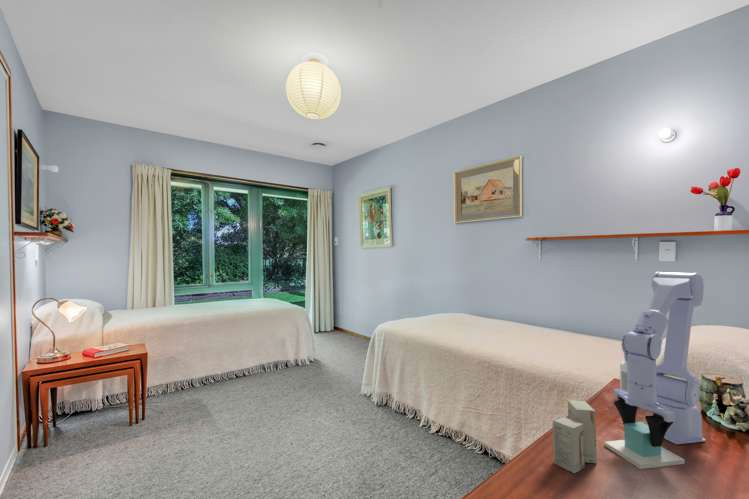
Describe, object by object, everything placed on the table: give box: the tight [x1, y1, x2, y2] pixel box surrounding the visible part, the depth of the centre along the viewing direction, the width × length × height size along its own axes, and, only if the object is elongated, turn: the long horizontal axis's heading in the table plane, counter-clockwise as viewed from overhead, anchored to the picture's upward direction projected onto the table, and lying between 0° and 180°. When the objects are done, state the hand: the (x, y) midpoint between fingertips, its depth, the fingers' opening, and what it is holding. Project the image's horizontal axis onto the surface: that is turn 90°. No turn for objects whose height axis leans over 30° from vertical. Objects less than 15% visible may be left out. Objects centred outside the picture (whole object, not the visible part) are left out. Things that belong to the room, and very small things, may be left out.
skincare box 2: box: [567, 399, 598, 464], centre depth 85 cm, size 6×4×12 cm
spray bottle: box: [619, 360, 628, 392], centre depth 120 cm, size 7×7×18 cm
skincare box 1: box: [552, 416, 586, 474], centre depth 81 cm, size 5×4×10 cm
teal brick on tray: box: [623, 421, 662, 457], centre depth 86 cm, size 5×5×6 cm
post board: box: [604, 439, 686, 470], centre depth 86 cm, size 12×10×4 cm
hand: (642, 438), depth 86 cm, fingers open, 6 cm apart
